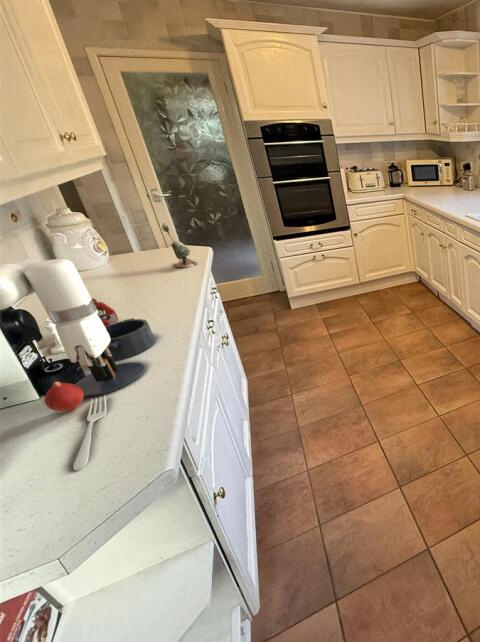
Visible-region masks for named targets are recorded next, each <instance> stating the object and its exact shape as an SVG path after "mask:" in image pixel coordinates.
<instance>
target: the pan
mask: <svg viewBox="0 0 480 642" xmlns="http://www.w3.org/2000/svg"><path fill="white" fill-rule="evenodd" d="M105 328H106V330H107V332H108V334H109V336H110V339H111V340H110V343H109V345H108V348H109V350H110V352H111V354H112V358H113V360H114V361H115V362H116V361H123V360H125V359H129V358H132V357H135V356H138V355H140V354H142V353H144V352H146V351H148V350H149V349H151V348H152V347H154V346H155V344H156V338H155V336H154V334H153V331H152V329H151V327H150V325H149V322H148V321H147V320H146V319H141V318H136V319H135V318H133V317H132V318H128V319H124V320H121V321H117V322H114V323H110V325H108V326H105ZM110 358H111V357H110Z"/></svg>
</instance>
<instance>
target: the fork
mask: <svg viewBox="0 0 480 642" xmlns="http://www.w3.org/2000/svg"><path fill="white" fill-rule="evenodd" d="M97 406H98V411H97ZM92 409H93V411H92ZM106 414H107V400H106V395H103V410H102V397H101V396H99V401H98V399H97V397H95V398H94V405H93V399H92V398H91V399H90V403H89V408H88V412H87V417H86V421H87V422H88V425H87V428H86V432H85V434H84V438H83V440H82V443H81V445H80V448H79V450H78V453H77V455H76V458H75V460H74V462H73V465H72V469H73V470H74V471H76V472H77V471H80V470H82V469H84V467H86V465H87V463H88V461H89V458H90V457H89V455H90V449H91V440H92V429H93V424H94V422H96V421H98V420H100V419H101V418H103V417H105V415H106Z"/></svg>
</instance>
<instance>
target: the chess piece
mask: <svg viewBox="0 0 480 642" xmlns="http://www.w3.org/2000/svg"><path fill="white" fill-rule="evenodd" d="M42 324H46V325H44V328H45V329H46V330H48V331H49V332H48V335H49V336H52V338H53V340H54V344H55V345H54V346H53V347H52V348H51V349H50V354H52V355H56V354H58V355H59V354H62V353H66V352H65V350H64V347H63V345H62V343H61V341H60V338H59V336H58V333H57V329H56V325H55V324H53V322H52V321H51V319H50V320H49V319H48V318H45V319H44V321H42Z"/></svg>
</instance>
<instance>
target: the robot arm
mask: <svg viewBox="0 0 480 642" xmlns="http://www.w3.org/2000/svg"><path fill="white" fill-rule="evenodd" d="M34 293H35V294H36V296H37V298H38V300H39V302H40V303H41V305H42V307H43V309H44V310H45V312H46V314H47V315H48V318H49V319H50V320H51V321H52V322H51V323H52V324H55V330H57V334H58V336H59V338H60V341H61V343H62V345H63V347H64V350H65V352H64V353H65V354H66V355H67V357H68V359H69V361H70V362H71V363H73V364H76V363H78V362H79V363H80V366H81V369H85V368H87V370H88V371H89V372H90V374H92V375H93V377H94V378H95V380H96V382H101V381H105V380H109V379H113V377H114V376H113V374H112V372H111V370H110V368H109V366H108V365H107V364H106V365H105V363H104V361H103V359H107V361H108V362H109V364H110V366H111V368H112V370H113V372H117V371H118V367H117V365H118V364H116V361H114V360H113V358H112V354H111V352H110V350H109V348H108V345H109V343H110V340H111V339H110V336H109V334H108V332H107V330H106V328H105V326H104V324H103V323H102V321H101V319H100V318H99V316H98V315H97V313H98V310H97V308H96V306H95V305H94V303H93V301H92V299H91V298H92V297H91V294H90V293H89V291H88V289H87V286H86V284H84V281H83V279H82V277H81V275H80V274H79V271H78V269H77V267H76V266H75V265H74V263H73V262H72V261H71V260H69V259H65V258H55V259H54V258H53V259H47V260H42V261H38V262H12V263H11V262H10V263H3V264H0V311H3V310H6V309H8V308H10V307H12V306H13V305H15V304H16V303H18V302H20V301H21V300H22V299H24V298H25V297H28V296H30V295H32V294H34ZM110 357H111V358H110Z"/></svg>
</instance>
